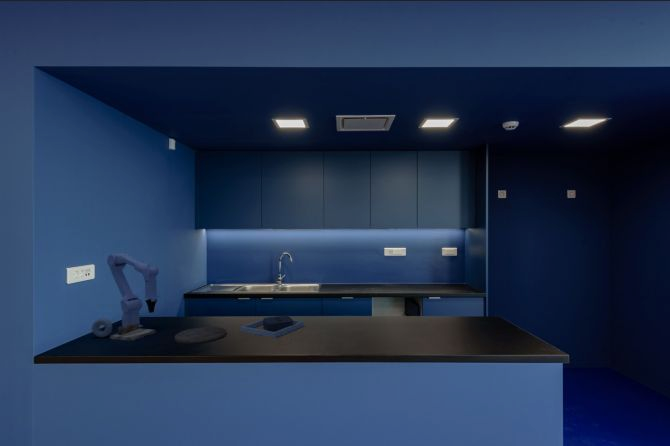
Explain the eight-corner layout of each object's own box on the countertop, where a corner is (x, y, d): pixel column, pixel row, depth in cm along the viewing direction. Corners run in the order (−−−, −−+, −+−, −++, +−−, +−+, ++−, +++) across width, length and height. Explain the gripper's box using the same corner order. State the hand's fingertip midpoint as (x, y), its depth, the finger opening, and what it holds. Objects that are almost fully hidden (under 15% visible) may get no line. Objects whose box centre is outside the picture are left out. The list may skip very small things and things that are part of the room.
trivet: (235, 335, 195) (235, 332, 195) (189, 348, 176) (188, 344, 176) (210, 327, 212) (210, 324, 212) (166, 338, 193) (166, 334, 193)
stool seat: (109, 338, 194) (109, 330, 194) (133, 330, 208) (133, 322, 208) (132, 340, 189) (132, 332, 189) (155, 332, 203) (155, 324, 203)
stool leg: (121, 334, 194) (121, 327, 194) (116, 334, 195) (116, 327, 195) (138, 328, 205) (138, 321, 205) (134, 328, 206) (134, 321, 206)
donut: (114, 335, 199) (113, 316, 199) (110, 337, 195) (110, 318, 196) (94, 336, 198) (94, 317, 198) (90, 338, 195) (90, 319, 195)
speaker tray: (240, 331, 201) (240, 326, 201) (271, 321, 221) (270, 317, 221) (274, 337, 188) (274, 332, 188) (303, 326, 209) (303, 321, 209)
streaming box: (294, 330, 202) (294, 320, 202) (268, 334, 196) (267, 324, 196) (287, 324, 215) (287, 315, 215) (262, 327, 209) (262, 318, 209)
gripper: (161, 288, 207) (161, 313, 207) (156, 285, 218) (156, 309, 218) (146, 290, 203) (147, 315, 202) (142, 287, 214) (143, 310, 214)
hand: (151, 312), depth 210 cm, fingers closed
